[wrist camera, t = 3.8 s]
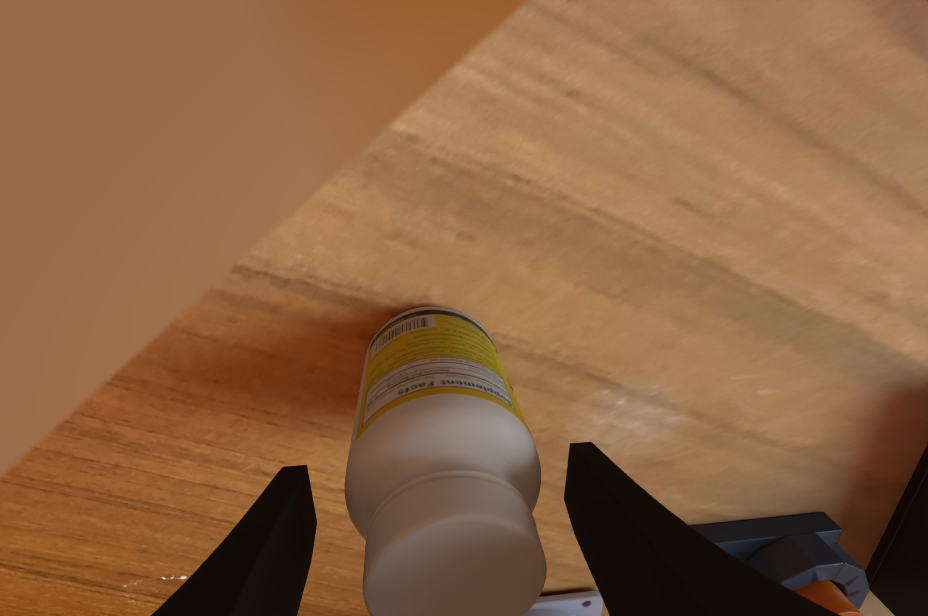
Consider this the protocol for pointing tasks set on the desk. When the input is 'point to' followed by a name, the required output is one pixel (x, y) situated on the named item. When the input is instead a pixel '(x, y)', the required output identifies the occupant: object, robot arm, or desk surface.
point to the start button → (829, 598)
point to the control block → (792, 551)
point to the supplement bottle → (443, 474)
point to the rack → (905, 552)
